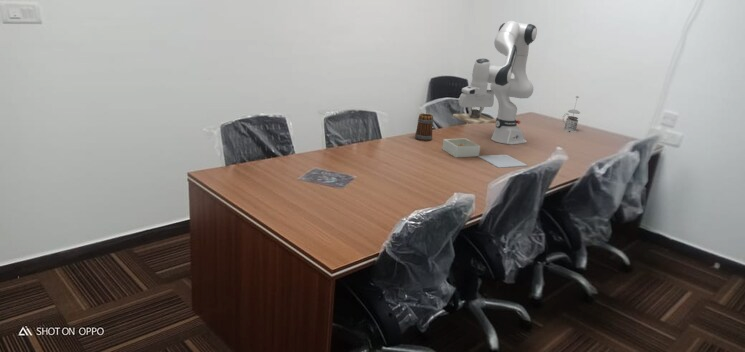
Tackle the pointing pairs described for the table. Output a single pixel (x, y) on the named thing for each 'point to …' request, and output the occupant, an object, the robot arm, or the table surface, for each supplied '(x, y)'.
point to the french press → (571, 120)
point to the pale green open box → (461, 147)
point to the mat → (502, 161)
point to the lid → (474, 118)
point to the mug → (424, 127)
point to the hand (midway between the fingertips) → (474, 114)
